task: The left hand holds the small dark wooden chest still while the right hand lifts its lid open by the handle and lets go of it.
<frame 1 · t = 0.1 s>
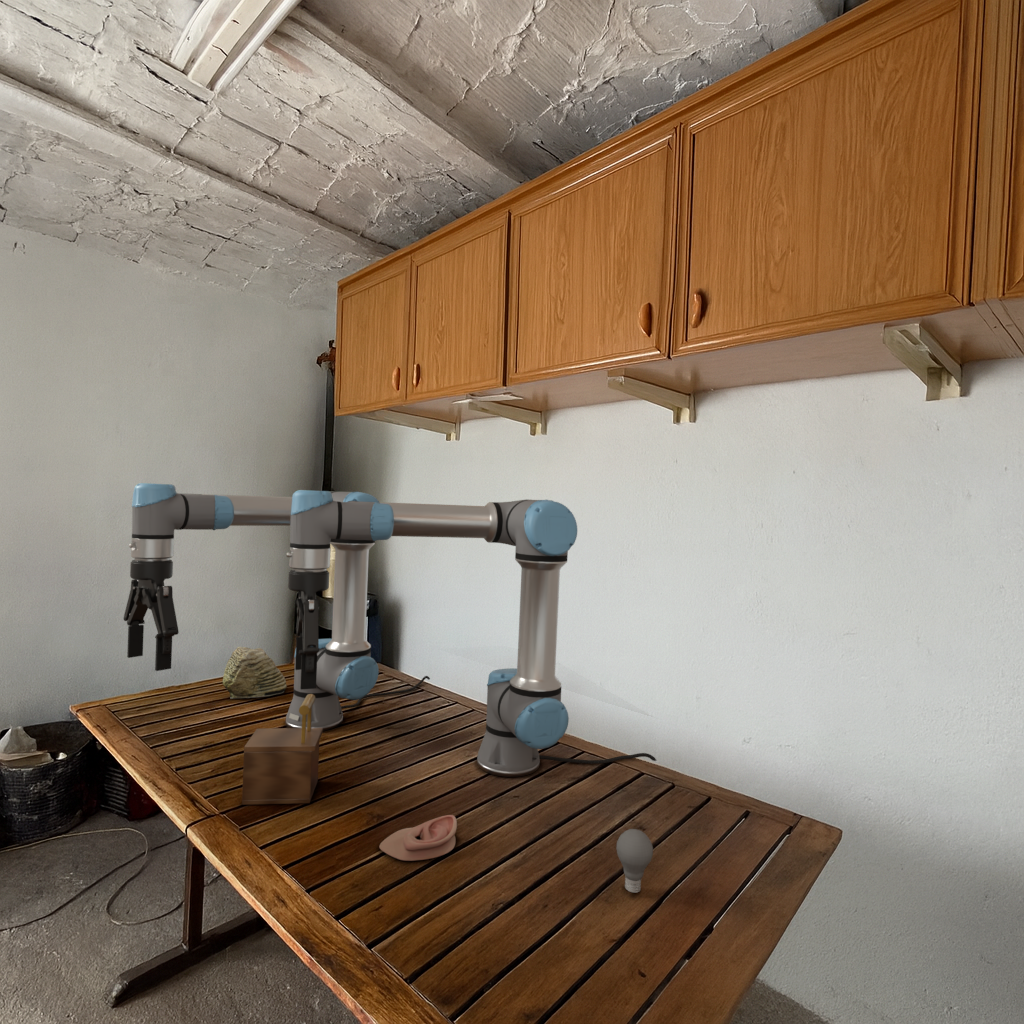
left hand: (148, 663, 129), 28 cm above the table, tool pointing down, fingers open, 13 cm apart
right hand: (305, 678, 123), 28 cm above the table, tool pointing down, fingers open, 13 cm apart
chest: (281, 792, 135), on the table
anatomical model: (418, 845, 117), on the table
lid: (285, 720, 135), point 15 cm above the table, hinge at 0.0°
light bulb: (632, 891, 106), on the table
fossil: (254, 694, 198), on the table
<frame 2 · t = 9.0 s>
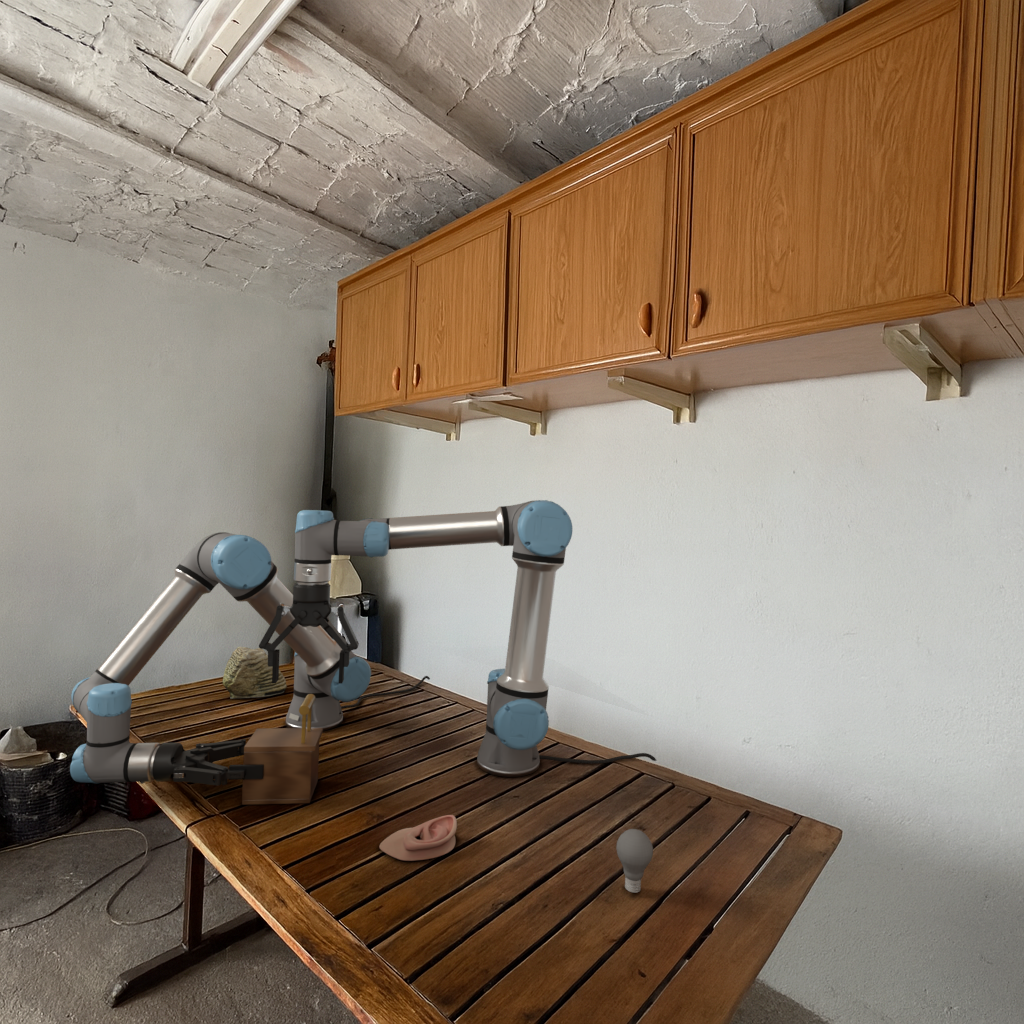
left hand: (269, 760, 134), 7 cm above the table, tool horizontal, fingers closed on chest, 10 cm apart
right hand: (308, 681, 135), 24 cm above the table, tool pointing down, fingers open, 13 cm apart
chest: (281, 792, 135), on the table, touching left hand
everything else where it was.
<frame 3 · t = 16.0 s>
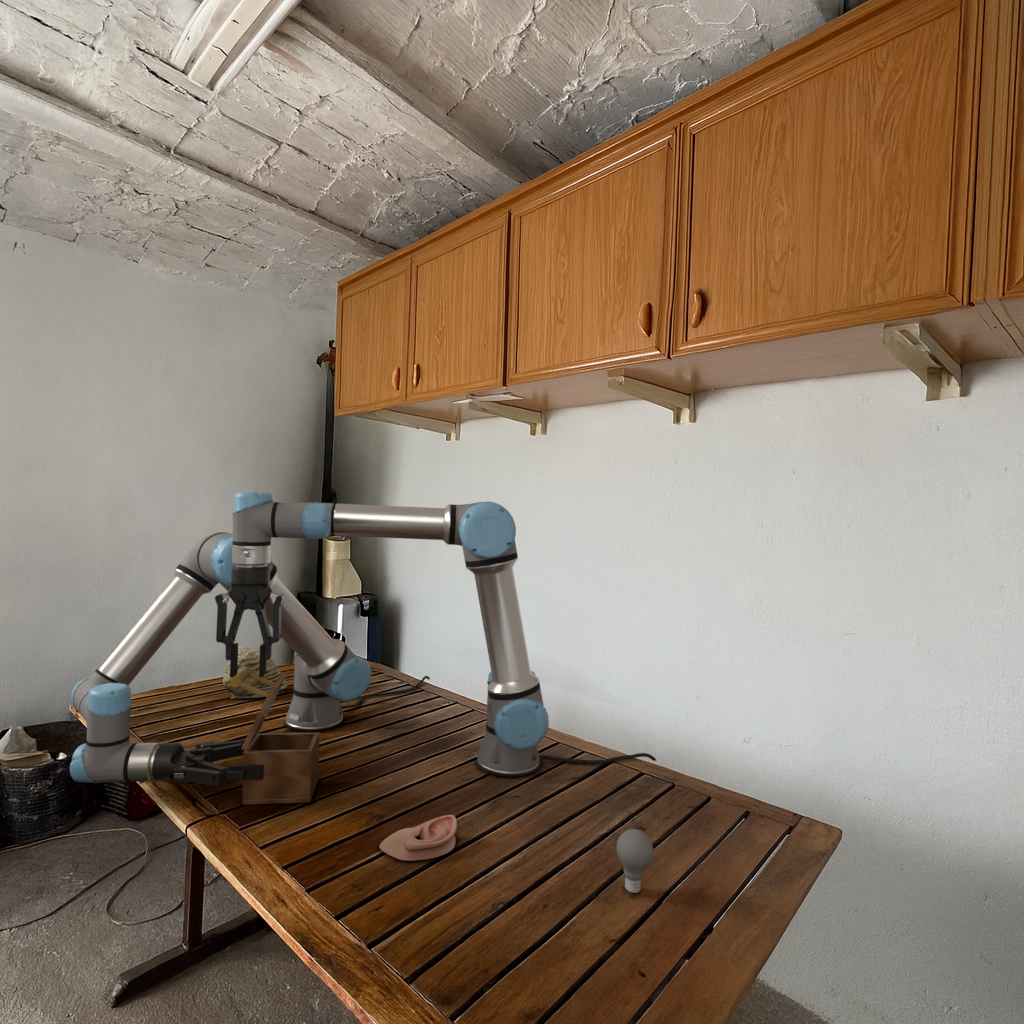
left hand: (269, 760, 134), 7 cm above the table, tool horizontal, fingers closed on chest, 10 cm apart
right hand: (248, 675, 133), 25 cm above the table, tool pointing down, fingers open, 5 cm apart
chest: (281, 791, 135), on the table, touching left hand
lid: (247, 702, 133), point 19 cm above the table, hinge at 65.6°
everything else where it was.
when the left hand's fingers open (7 cm above the table, at t = 18.8 s): chest stays where it is, on the table.
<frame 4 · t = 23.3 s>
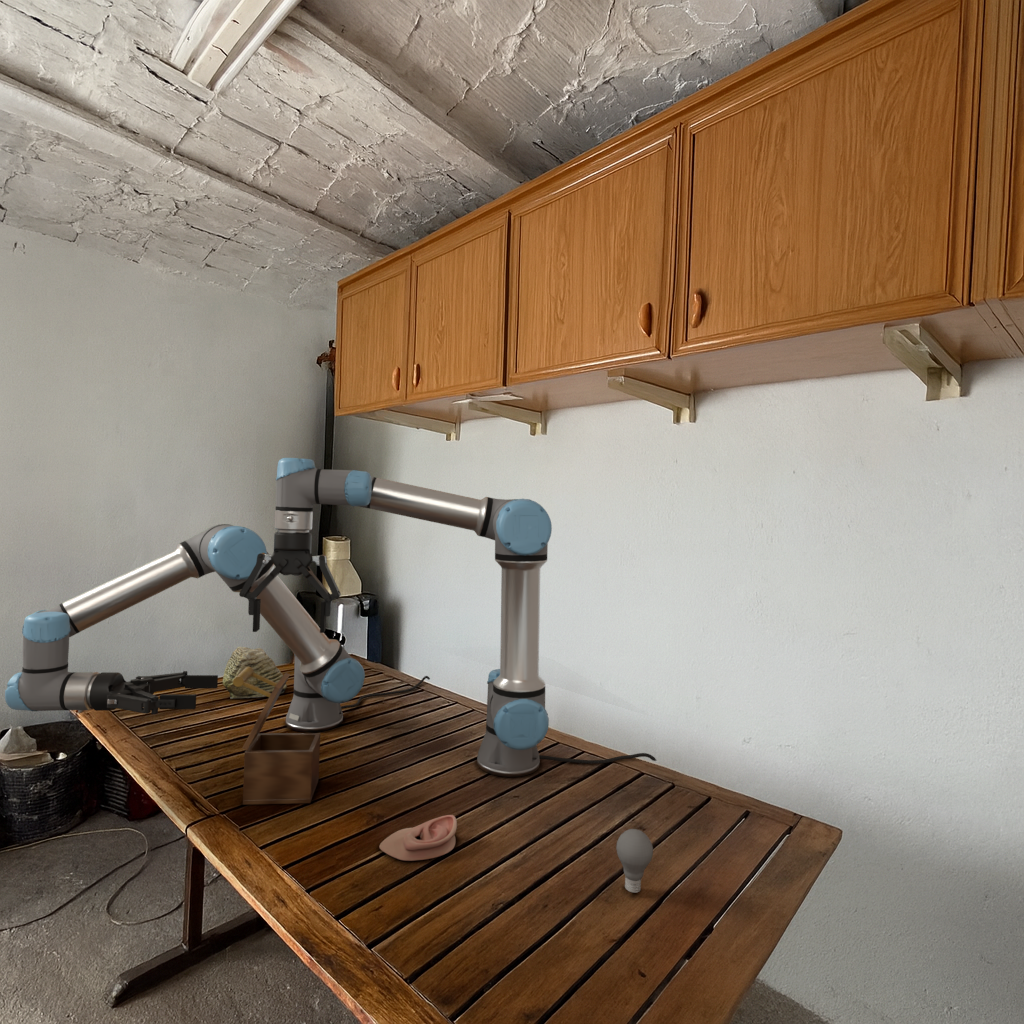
left hand: (207, 691, 132), 22 cm above the table, tool horizontal, fingers open, 13 cm apart
right hand: (289, 631, 134), 35 cm above the table, tool pointing down, fingers open, 13 cm apart
chest: (282, 792, 135), on the table
lid: (249, 701, 134), point 19 cm above the table, hinge at 64.9°
everything else where it was.
at the end: lid at +65° (first picture: +0°); the left hand is holding nothing; the right hand is holding nothing; chest tilted 0°; chest never tilted more than 1° during the clip; chest moved 0.1 cm from its start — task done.
